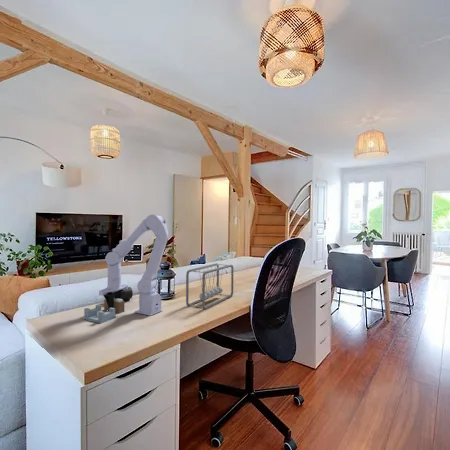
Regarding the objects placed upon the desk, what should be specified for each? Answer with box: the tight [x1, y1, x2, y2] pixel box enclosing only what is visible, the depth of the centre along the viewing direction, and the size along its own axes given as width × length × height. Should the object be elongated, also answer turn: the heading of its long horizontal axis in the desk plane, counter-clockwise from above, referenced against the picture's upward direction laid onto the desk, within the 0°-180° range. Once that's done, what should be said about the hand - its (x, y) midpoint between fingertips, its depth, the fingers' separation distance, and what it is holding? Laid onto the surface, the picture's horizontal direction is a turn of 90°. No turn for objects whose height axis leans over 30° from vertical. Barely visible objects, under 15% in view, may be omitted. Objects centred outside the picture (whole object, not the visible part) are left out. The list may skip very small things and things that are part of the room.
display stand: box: [82, 304, 117, 324], centre depth 117 cm, size 11×8×4 cm
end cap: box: [112, 286, 134, 302], centre depth 143 cm, size 10×7×7 cm
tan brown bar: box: [103, 298, 126, 314], centre depth 127 cm, size 10×3×6 cm, turn 62°
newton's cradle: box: [185, 262, 234, 310], centre depth 144 cm, size 30×10×18 cm, turn 151°
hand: (114, 307), depth 127 cm, fingers open, 3 cm apart
